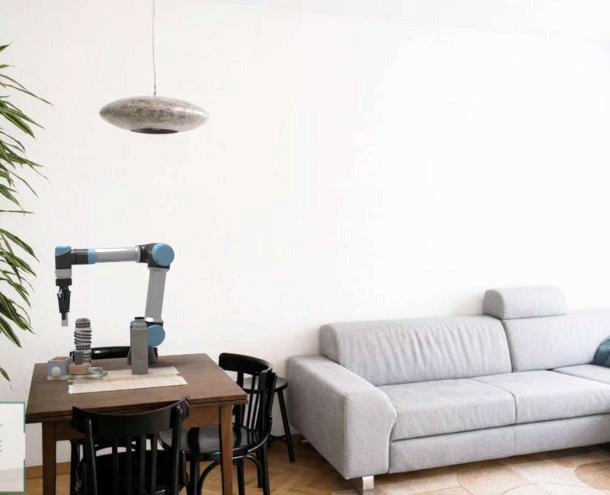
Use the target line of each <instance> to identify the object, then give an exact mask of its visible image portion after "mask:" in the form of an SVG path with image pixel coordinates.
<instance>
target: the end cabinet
mask: <svg viewBox="0 0 610 495" xmlns="http://www.w3.org/2000/svg"><path fill="white" fill-rule="evenodd" d="M56 357H57V356H55V357H53V358H51V359H49V360H47V377H65V376H67V375H68V374H69V369H68V366H69V365H70V364H72V363H74V362H73V360H74V359H73V356H65V357H66V359H65V360H55V358H56Z"/></svg>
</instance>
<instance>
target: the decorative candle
mask: <svg viewBox="0 0 610 495" xmlns="http://www.w3.org/2000/svg"><path fill="white" fill-rule="evenodd" d="M91 321H92V320H90V319H89V318H88V317H81V318H80V317H79V318H77V319H76V320H75V321H74V325H75V326H74V332H73V340H74V342H73V344H74V345H75V349H74V353H75V352H77V351H83V358H84V363H90V366H89V367H92V364H93V362H92V361H93V359H92V353H93V352H92V348H91V345H92V340H91V339H93V337H91V336H92V335H93V334H91V333H92V332H93V330H92V326H91ZM73 360H74V362H75V359H73Z"/></svg>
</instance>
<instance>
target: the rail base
mask: <svg viewBox="0 0 610 495" xmlns="http://www.w3.org/2000/svg"><path fill="white" fill-rule="evenodd" d="M107 374H108V375H109V371H107V370H105V371H104V367H102V366H101V367H100V366H98V367H97V366H95V367H94V366H93V367H92V366H90V367H87V373H86V374H68V375H67V376H65V377H48V376H46V377H47V378H46V379H47V381H87V380H88V381H100V380H102V379H104V378H105V377H107V376H108V375H107ZM103 377H104V378H103Z"/></svg>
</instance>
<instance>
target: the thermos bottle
mask: <svg viewBox="0 0 610 495" xmlns="http://www.w3.org/2000/svg"><path fill="white" fill-rule="evenodd" d="M144 318H145V317H144V316H134V318H133V319H134V323H133V328H131V364H130V365H131V374H132V375H134V374H142V375H147V374H148V373H149V364H148V328H147V327H146V323H145V320H144ZM146 373H147V374H146Z"/></svg>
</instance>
